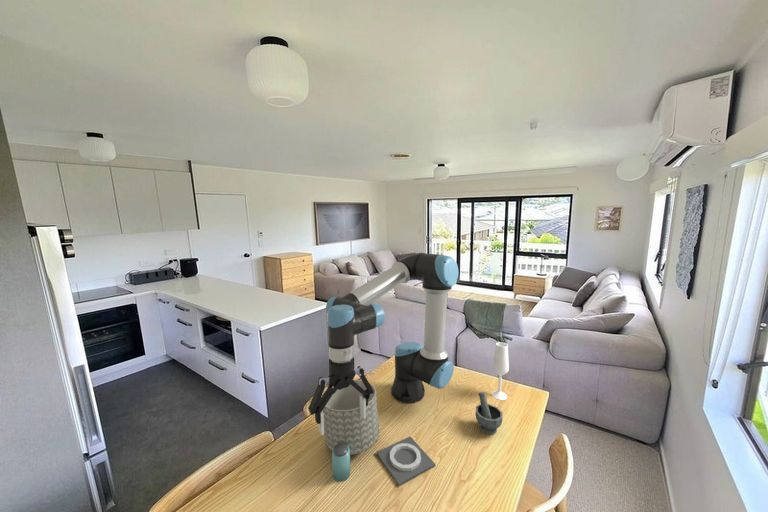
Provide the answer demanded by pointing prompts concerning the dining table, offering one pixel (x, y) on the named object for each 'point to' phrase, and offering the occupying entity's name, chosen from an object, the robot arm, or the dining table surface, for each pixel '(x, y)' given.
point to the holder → (405, 460)
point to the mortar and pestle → (488, 415)
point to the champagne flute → (500, 367)
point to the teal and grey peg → (341, 462)
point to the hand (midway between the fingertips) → (343, 423)
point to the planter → (351, 420)
